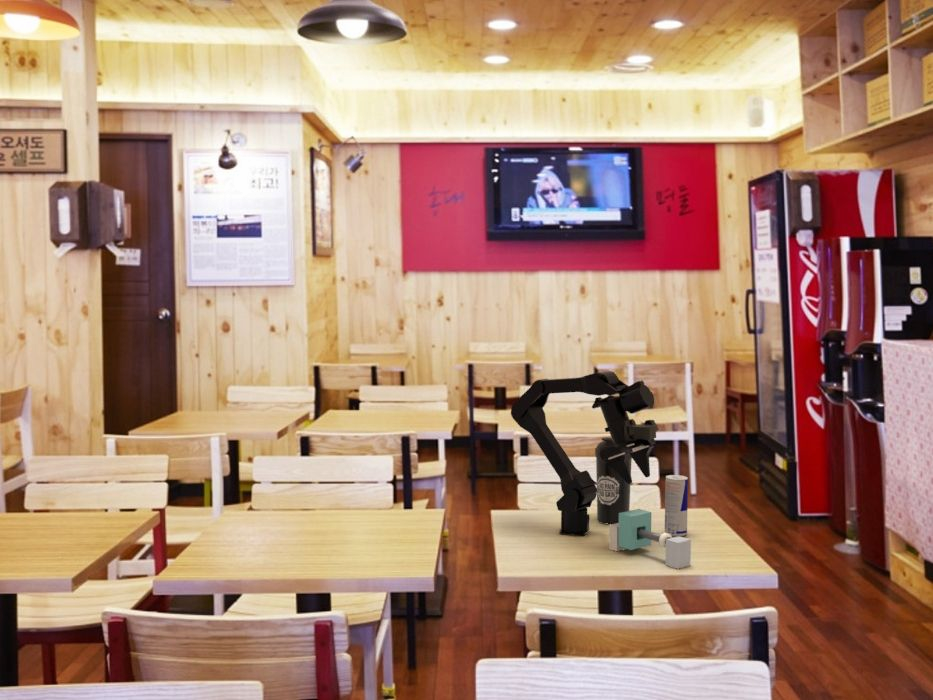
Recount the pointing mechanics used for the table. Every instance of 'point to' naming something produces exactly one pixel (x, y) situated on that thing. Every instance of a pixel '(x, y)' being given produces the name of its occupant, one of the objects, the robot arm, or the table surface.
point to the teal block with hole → (633, 528)
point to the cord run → (675, 547)
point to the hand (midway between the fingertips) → (639, 480)
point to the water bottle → (610, 488)
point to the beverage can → (676, 505)
